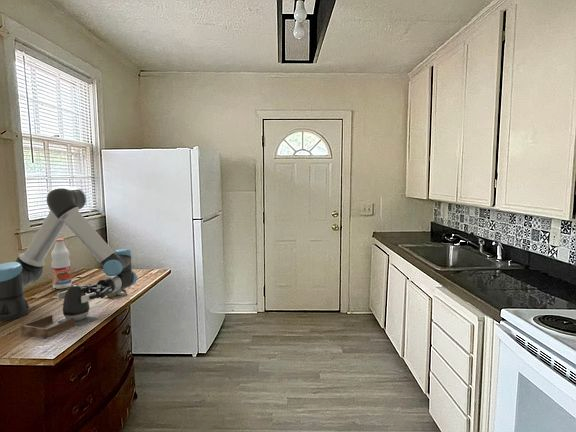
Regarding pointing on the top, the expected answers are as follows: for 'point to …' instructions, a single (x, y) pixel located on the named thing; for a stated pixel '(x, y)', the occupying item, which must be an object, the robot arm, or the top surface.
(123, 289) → the ceramic mug
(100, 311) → the top surface
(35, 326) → the walnut caddy
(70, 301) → the pump dispenser
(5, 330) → the top surface
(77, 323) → the grey mat
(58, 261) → the fruit juice
